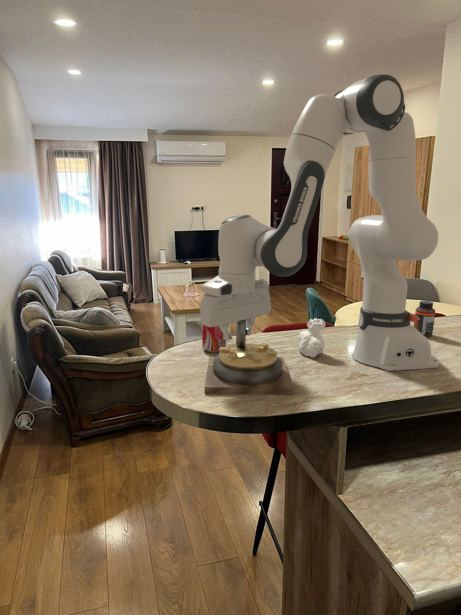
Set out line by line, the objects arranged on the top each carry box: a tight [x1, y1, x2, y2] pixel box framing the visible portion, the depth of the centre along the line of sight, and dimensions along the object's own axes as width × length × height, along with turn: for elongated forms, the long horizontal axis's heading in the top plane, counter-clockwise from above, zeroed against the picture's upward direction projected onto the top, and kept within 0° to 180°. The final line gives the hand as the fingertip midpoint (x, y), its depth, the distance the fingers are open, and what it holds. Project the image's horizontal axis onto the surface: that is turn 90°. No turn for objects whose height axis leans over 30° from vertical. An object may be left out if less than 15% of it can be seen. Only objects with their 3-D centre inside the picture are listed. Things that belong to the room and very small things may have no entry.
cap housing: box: [204, 354, 295, 395], centre depth 108 cm, size 20×20×4 cm
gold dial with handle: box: [218, 319, 278, 371], centre depth 106 cm, size 14×14×9 cm
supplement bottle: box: [413, 300, 436, 338], centre depth 143 cm, size 6×6×11 cm
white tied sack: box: [296, 317, 326, 359], centre depth 125 cm, size 12×8×11 cm
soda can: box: [201, 322, 227, 353], centre depth 126 cm, size 7×7×12 cm
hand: (237, 337), depth 110 cm, fingers open, 5 cm apart
